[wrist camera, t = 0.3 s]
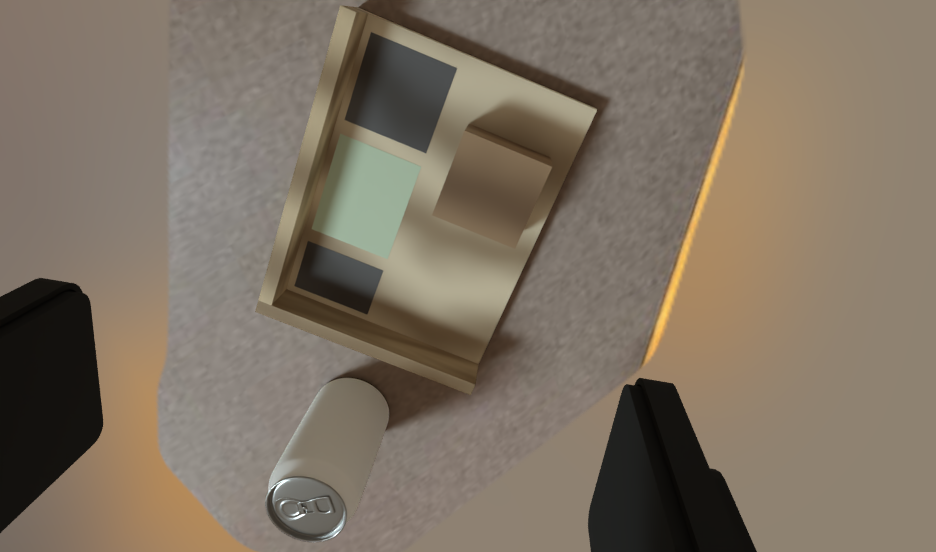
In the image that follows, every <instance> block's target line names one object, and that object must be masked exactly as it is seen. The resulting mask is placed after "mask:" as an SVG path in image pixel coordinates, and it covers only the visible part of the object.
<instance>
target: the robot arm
mask: <svg viewBox="0 0 936 552" xmlns="http://www.w3.org/2000/svg"><path fill="white" fill-rule="evenodd" d="M102 427H103V414H102V405H101V397H100V388H99V378H98V368H97V360H96V350H95V341H94V332H93V322H92V313H91V305H90V300H89V298H88V296H87V295H85V294H84V293H82V290H81V289H80V287H79V286H78V285H76V284H74V283H68V282H62V281H56V280H50V279H43V278H39V279H35V280H33V281H31V282H29V283H27V284H25V285H23V286H21V287H19V288H17V289H15V290H13V291H11V292H9V293H7V294H5V295H3V296H1V297H0V533H1V532H2V531H3V530H4V529H5V528H6V527H7V526H8V525H9V524H10V523H11V522H12V521H13V520H14V519H15V518H17V516H18V515H20V514H21V513H22V512H23V511H24V510H25V509H26V508H27V507H28V506H29V505H30V504H31V503H32V502H33V501H34V500H35V499H37V498H38V497H39V496H40V495H41V494H42V493H43V492H44V491H45V490H46V489H47V488H48V487H49V486H50V485H51V484H52V483H53V482H54V481H55V480H56V479H58V478H59V477H60V476H61V475H62V474H63V473H64V472H65V471H66V470H67V469H68V468H69V467H70V466H71V465H72V464H73V463H74V462H75V461H76V460H78V458H80V457H81V456H82V455H83V454H84V453H85V452H86V451H87V450H88V449H89V448H90V447H91V446H92V445H93V444H94V443H95V442H96V441H97V439H98V438H99V436H100V434H101V431H102ZM588 529H589V538H590V547H591V552H757V551H756V549H755V547H754V544H753V542H752V540H751V538H750V536H749V533H748V531H747V529H746V526H745V524H744V522H743V520H742V517H741V515H740V513H739V511H738V508H737V506H736V504H735V501H734V499H733V497H732V495H731V492H730V490H729V488H728V486H727V483H726V481H725V479H724V477H723V476H722V474H721V473H720V472H719V471H717V470H715V469H710V468H709V466H708V464H707V461H706V459H705V457H704V454H703V451H702V449H701V447H700V444H699V442H698V440H697V437H696V435H695V433H694V430H693V428H692V426H691V423H690V420H689V418H688V416H687V413H686V411H685V409H684V406H683V404H682V402H681V399H680V397H679V394H678V392H677V389H676V387H675V386H674V384H672V383H667V382H661V381H654V380H649V379H643V378H639V379H638V380H637V381H636V383H635V385H628V384H626V385H625V386H624V388H623V390H622V393H621V397H620V401H619V404H618V408H617V412H616V415H615V418H614V422H613V426H612V429H611V433H610V436H609V440H608V444H607V448H606V451H605V455H604V458H603V462H602V466H601V469H600V473H599V476H598V480H597V483H596V487H595V491H594V495H593V498H592V502H591V505H590V510H589V518H588Z"/></svg>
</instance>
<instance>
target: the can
mask: <svg viewBox="0 0 936 552" xmlns="http://www.w3.org/2000/svg"><path fill="white" fill-rule="evenodd" d="M388 421H389V408H388V404H387V402H386V400H385V398H384V397H383V395H382V394H381V393H380V392H379V391H378V390H377V389H376V388H375V387H373V386H372V385H370V384H369V383H367V382H364V381H362V380H359V379H354V378H340V379H336V380H333V381H331V382H329V383H327V384H326V385H325V386H323V387H322V388H321V390H320V391H319V392H318V394H317V396H316V397H315V399H314V401H313V402H312V404H311V406H310V407H309V409H308V411H307V412H306V414H305V416H304V418H303V419H302V421H301V423H300V425H299V426H298V428H297V430H296V431H295V433H294V435H293V437H292V438H291V440H290V442H289V444H288V445H287V447H286V449H285V451H284V452H283V454H282V456H281V458H280V459H279V461H278V463H277V465H276V467H275V469H274V470H273V472H272V475H271V477H270V480H269V488H268V489H269V491H268V493H267V496H266V501H265V506H266V511H267V514H268V516H269V518H270V520H271V521H272V523H273V524H274V525H275V526H276V527H277V528H278V529H279V530H280V531H281V532H283V533H284V534H286V535H288V536H290V537H292V538H294V539H297V540H300V541H305V542H322V541H326V540H329V539H332V538H333V537H335V536H337V535H338V534H339V533H340V532H341V531H342V530H343V528H344V526H345V524H346V523H347V522H348V521H349V520H350V519H351V518H352V517H353V515H354V514H355V512H356V510H357V508H358V506H359V503H360V501H361V498H362V495H363V492H364V490H365V487H366V484H367V481H368V479H369V476H370V473H371V470H372V467H373V465H374V462H375V459H376V456H377V453H378V450H379V448H380V445H381V442H382V439H383V436H384V433H385V430H386V427H387V424H388Z"/></svg>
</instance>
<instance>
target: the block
mask: <svg viewBox="0 0 936 552" xmlns="http://www.w3.org/2000/svg"><path fill="white" fill-rule="evenodd" d="M551 169H552V162H551V157H548V156H546V155H543V154H541V153H539V152H536V151H534V150H531V149H529V148H527V147H524V146H522V145H519V144H517V143H515V142H512V141H510V140H507V139H505V138H503V137H500V136H498V135H495V134H493V133H491V132H488V131H486V130H483V129H481V128H479V127H476V126H474V125H471V124H468V126H467V127H466V129H465V131H464V133H463V136H462V138H461V141H460V144H459V146H458V149H457V151H456V154H455V157H454V159H453V162H452V164H451V167H450V170H449V172H448V175H447V177H446V180H445V183H444V185H443V188H442V190H441V193H440V196H439V198H438V201H437V203H436V206H435V209H434V211H433V214H432V216H435V217H437V218H440V219H442V220H445V221H447V222H450V223H452V224H455V225H457V226H460V227H462V228H465V229H467V230H470V231H472V232H474V233H477V234H479V235H482V236H484V237H487V238H489V239H492V240H494V241H497V242H499V243H502V244H504V245H507V246H509V247H512V248H514V249H515V248H516V246H517V244H518V241H519V239H520V237H521V235H522V233H523V230H524V228H525V226H526V224H527V222H528V219H529V217H530V215H531V213H532V211H533V208H534V206H535V204H536V202H537V200H538V197H539V195H540V193H541V191H542V189H543V186H544V184H545V182H546V180H547V178H548V175H549V173H550V171H551Z"/></svg>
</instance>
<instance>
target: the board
mask: <svg viewBox="0 0 936 552" xmlns="http://www.w3.org/2000/svg"><path fill="white" fill-rule="evenodd" d="M596 112H597V109H596V108H594V107H592V106H590V105H587V104H585V103H583V102H580V101H578V100H576V99H573V98H571V97H568V96H566V95H564V94H561V93H559V92H557V91H554V90H552V89H550V88H547V87H545V86H542V85H540V84H538V83H535V82H533V81H531V80H528V79H526V78H524V77H521V76H519V75H516V74H514V73H512V72H509V71H507V70H505V69H502V68H500V67H498V66H495V65H493V64H490V63H488V62H486V61H483V60H481V59H479V58H476V57H474V56H472V55H469V54H467V53H464V52H462V51H460V50H457V49H455V48H453V47H450V46H448V45H446V44H443V43H441V42H438V41H436V40H434V39H431V38H429V37H427V36H424V35H422V34H420V33H417V32H415V31H412V30H410V29H408V28H405V27H403V26H401V25H398V24H396V23H394V22H391V21H389V20H386V19H384V18H382V17H379V16H377V15H375V14H372V13H370V12H368V11H365V10H363V9H360V8H358V7H350V6H340V9H339V12H338V16H337V20H336V23H335V27H334V30H333V34H332V38H331V41H330V45H329V48H328V52H327V56H326V59H325V63H324V66H323V70H322V74H321V77H320V81H319V84H318V88H317V92H316V95H315V99H314V102H313V106H312V110H311V113H310V117H309V120H308V124H307V128H306V131H305V135H304V138H303V142H302V146H301V149H300V153H299V156H298V160H297V164H296V167H295V171H294V174H293V178H292V181H291V185H290V189H289V192H288V196H287V199H286V203H285V207H284V210H283V214H282V217H281V221H280V225H279V228H278V232H277V235H276V239H275V243H274V246H273V250H272V253H271V257H270V261H269V264H268V268H267V271H266V275H265V279H264V282H263V286H262V289H261V293H260V297H259V300H258V304H257V307H256V311H255V312H257V313H260V314H262V315H265V316H267V317H270V318H273V319H275V320H278V321H280V322H283V323H286V324H288V325H291V326H293V327H296V328H298V329H301V330H304V331H306V332H309V333H311V334H314V335H317V336H319V337H322V338H324V339H327V340H329V341H332V342H335V343H337V344H340V345H342V346H345V347H347V348H350V349H353V350H355V351H358V352H360V353H363V354H366V355H368V356H371V357H373V358H376V359H378V360H381V361H384V362H386V363H389V364H391V365H394V366H396V367H399V368H402V369H404V370H407V371H409V372H412V373H415V374H417V375H420V376H422V377H425V378H427V379H430V380H433V381H435V382H438V383H440V384H443V385H446V386H448V387H451V388H453V389H456V390H458V391H461V392H464V393H466V394H469V395H471V393H472V391H473V389H474V387H475V384H476V377H477V371H478V364H479V362H480V360H481V358H482V356H483V353H484V351H485V349H486V347H487V345H488V343H489V341H490V338H491V336H492V334H493V332H494V330H495V328H496V326H497V323H498V321H499V319H500V317H501V315H502V313H503V311H504V308H505V306H506V304H507V302H508V300H509V298H510V296H511V293H512V291H513V289H514V287H515V285H516V283H517V281H518V278H519V276H520V274H521V272H522V270H523V268H524V266H525V263H526V261H527V259H528V257H529V255H530V253H531V251H532V248H533V246H534V244H535V242H536V240H537V238H538V236H539V234H540V231H541V229H542V227H543V225H544V223H545V221H546V219H547V216H548V214H549V212H550V210H551V208H552V206H553V204H554V201H555V199H556V197H557V195H558V193H559V191H560V189H561V186H562V184H563V182H564V180H565V178H566V176H567V174H568V171H569V169H570V167H571V165H572V163H573V161H574V159H575V156H576V154H577V152H578V150H579V148H580V146H581V144H582V141H583V139H584V137H585V135H586V133H587V131H588V129H589V126H590V124H591V122H592V120H593V118H594V116H595V114H596ZM468 124H471V125H474V126H476V127H479V128H481V129H483V130H486V131H488V132H491V133H493V134H495V135H498V136H500V137H503V138H505V139H507V140H510V141H512V142H515V143H517V144H519V145H522V146H524V147H527V148H529V149H531V150H534V151H536V152H539V153H541V154H543V155H546V156H548V157H551V162H552V169H551V171H550V173H549V175H548V178H547V180H546V182H545V184H544V186H543V189H542V191H541V193H540V195H539V197H538V200H537V202H536V204H535V206H534V208H533V211H532V213H531V215H530V217H529V219H528V222H527V224H526V226H525V228H524V230H523V233H522V235H521V237H520V239H519V241H518V244H517V246H516V248H515V249H514V248H512V247H509V246H507V245H504V244H502V243H499V242H497V241H494V240H492V239H489V238H487V237H484V236H482V235H479V234H477V233H474V232H472V231H470V230H467V229H465V228H462V227H460V226H457V225H455V224H452V223H450V222H447V221H445V220H442V219H440V218H437V217H435V216H432V214H433V211H434V209H435V206H436V203H437V201H438V198H439V196H440V193H441V190H442V188H443V185H444V183H445V180H446V177H447V175H448V172H449V170H450V167H451V164H452V162H453V159H454V157H455V154H456V151H457V149H458V146H459V144H460V141H461V138H462V136H463V133H464V131H465V129H466V127H467V126H468ZM340 134H343V135H345V136H348V137H350V138H352V139H355V140H357V141H360V142H362V143H365V144H367V145H370V146H372V147H374V148H377V149H379V150H382V151H384V152H387V153H389V154H392V155H394V156H396V157H399V158H401V159H404V160H406V161H409V162H411V163H414V164H416V165H418V166H421V169H420V172H419V174H418V177H417V180H416V183H415V185H414V188H413V191H412V194H411V196H410V199H409V202H408V205H407V207H406V210H405V213H404V216H403V218H402V221H401V224H400V227H399V229H398V232H397V235H396V238H395V240H394V243H393V246H392V249H391V251H390V254H389V257H388V259H386V258H383V257H381V256H378V255H376V254H373V253H370V252H368V251H365V250H363V249H360V248H358V247H355V246H353V245H350V244H348V243H345V242H343V241H340V240H338V239H335V238H333V237H330V236H328V235H325V234H323V233H320V232H318V231H315V230H313V229H312V226H313V222H314V219H315V216H316V212H317V209H318V206H319V203H320V199H321V196H322V193H323V189H324V186H325V183H326V179H327V176H328V173H329V169H330V166H331V163H332V159H333V156H334V153H335V150H336V146H337V143H338V140H339V136H340Z"/></svg>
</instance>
